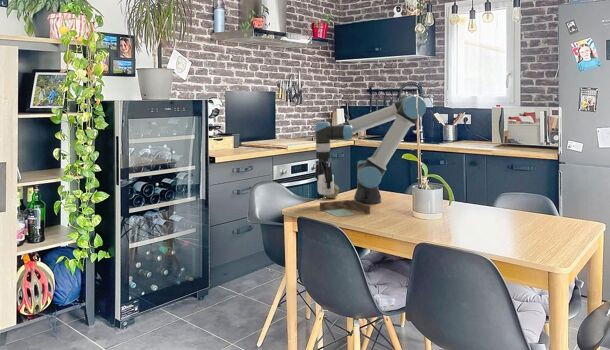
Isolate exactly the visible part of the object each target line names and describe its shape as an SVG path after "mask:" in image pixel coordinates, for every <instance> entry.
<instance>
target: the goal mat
mask: <svg viewBox="0 0 610 350" xmlns="http://www.w3.org/2000/svg"><path fill="white" fill-rule="evenodd" d="M322 212H325V213H328V214H330V215H332V216H335V217H346V216H356V215H358V214H357V213H355V212H352V211H350V210H347V209H333V210H323V211H322Z"/></svg>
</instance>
